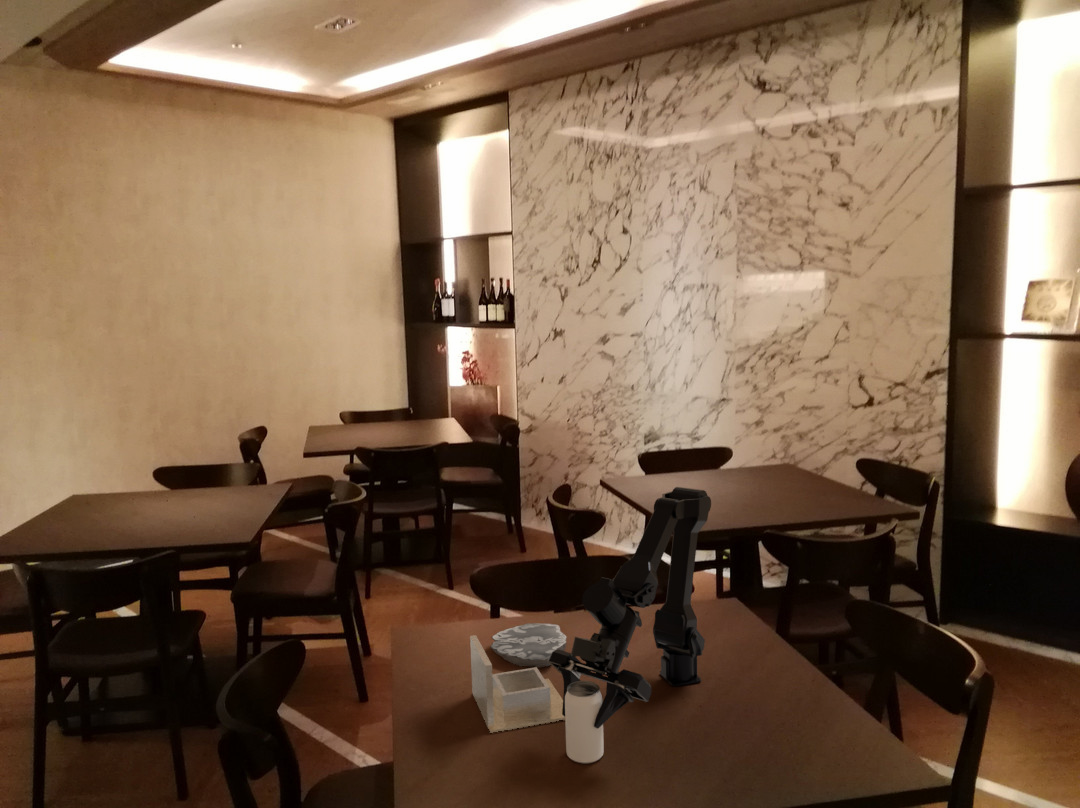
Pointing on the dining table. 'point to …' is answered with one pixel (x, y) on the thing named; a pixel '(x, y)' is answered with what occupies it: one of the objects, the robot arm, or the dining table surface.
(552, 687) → the cup bracket
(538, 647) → the brain slice
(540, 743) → the dining table surface
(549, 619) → the dining table surface
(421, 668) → the dining table surface
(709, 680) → the dining table surface
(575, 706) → the can
